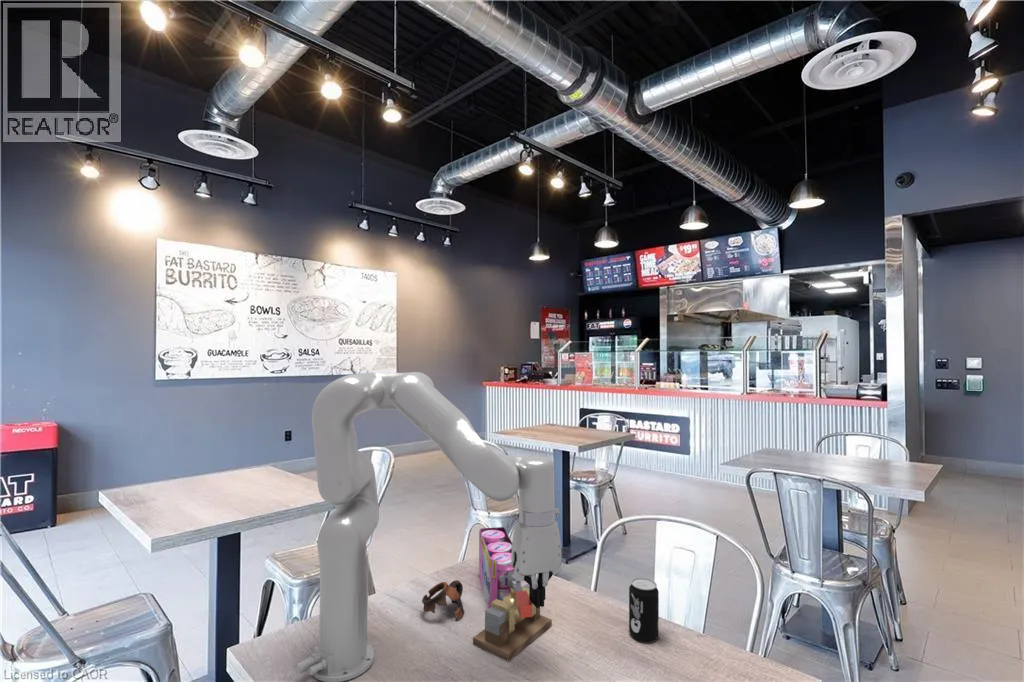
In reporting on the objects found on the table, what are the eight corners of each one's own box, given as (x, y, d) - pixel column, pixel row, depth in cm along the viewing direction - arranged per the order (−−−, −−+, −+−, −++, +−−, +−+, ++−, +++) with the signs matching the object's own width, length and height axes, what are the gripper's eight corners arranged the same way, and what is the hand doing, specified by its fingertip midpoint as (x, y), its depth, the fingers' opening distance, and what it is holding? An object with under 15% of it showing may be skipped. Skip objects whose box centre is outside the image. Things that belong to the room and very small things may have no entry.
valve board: (508, 661, 102) (509, 632, 102) (472, 644, 108) (473, 616, 108) (551, 625, 115) (551, 600, 116) (517, 612, 121) (518, 587, 122)
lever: (506, 582, 113) (506, 571, 113) (519, 581, 114) (519, 570, 114) (519, 618, 98) (519, 605, 98) (533, 617, 98) (533, 604, 98)
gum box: (521, 615, 120) (522, 559, 121) (490, 618, 119) (490, 562, 119) (504, 572, 144) (505, 526, 144) (478, 574, 142) (478, 527, 143)
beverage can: (659, 646, 108) (659, 591, 108) (629, 642, 109) (629, 588, 109) (657, 629, 114) (657, 578, 115) (628, 626, 116) (628, 575, 116)
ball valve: (503, 643, 103) (503, 604, 104) (480, 633, 107) (481, 595, 107) (544, 612, 116) (544, 577, 116) (522, 603, 120) (522, 570, 120)
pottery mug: (456, 630, 114) (438, 600, 114) (427, 637, 118) (411, 608, 118) (478, 594, 125) (462, 567, 125) (452, 602, 129) (436, 575, 129)
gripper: (559, 506, 109) (559, 589, 109) (497, 515, 103) (497, 603, 103) (576, 517, 102) (577, 605, 102) (511, 527, 96) (512, 621, 96)
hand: (537, 604), depth 102 cm, fingers closed
